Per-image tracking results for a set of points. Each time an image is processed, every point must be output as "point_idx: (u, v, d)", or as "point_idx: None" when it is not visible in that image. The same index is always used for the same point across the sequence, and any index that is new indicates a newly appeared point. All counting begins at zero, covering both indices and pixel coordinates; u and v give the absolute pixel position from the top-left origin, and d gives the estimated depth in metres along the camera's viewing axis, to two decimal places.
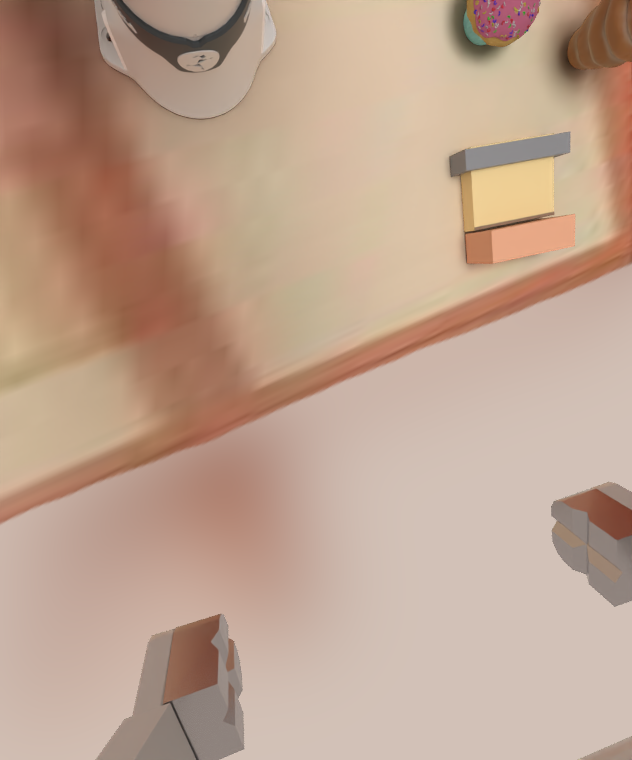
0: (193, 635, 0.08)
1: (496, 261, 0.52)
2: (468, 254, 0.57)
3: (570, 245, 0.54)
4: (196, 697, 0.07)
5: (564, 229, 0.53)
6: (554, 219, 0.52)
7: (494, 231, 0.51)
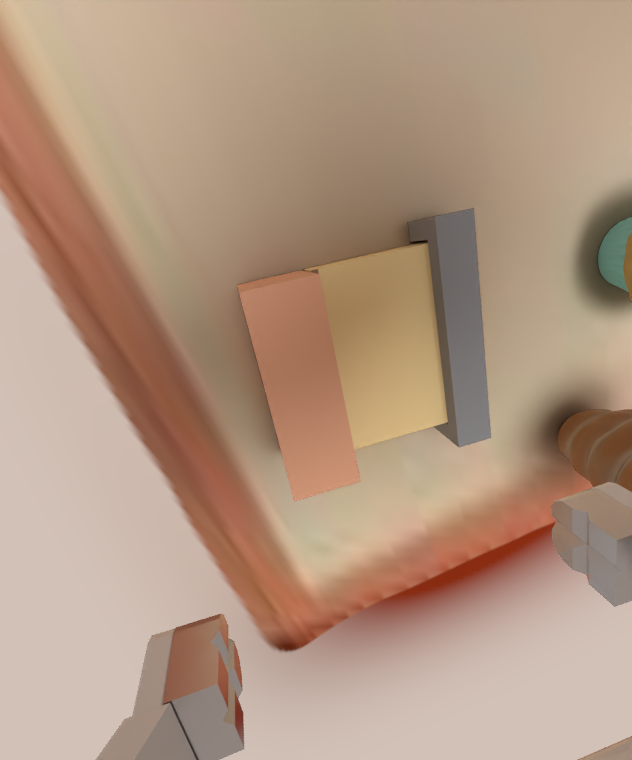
0: (193, 635, 0.08)
1: (244, 302, 0.20)
2: (256, 280, 0.25)
3: (295, 491, 0.23)
4: (196, 697, 0.07)
5: (329, 466, 0.23)
6: (348, 436, 0.23)
7: (318, 282, 0.20)
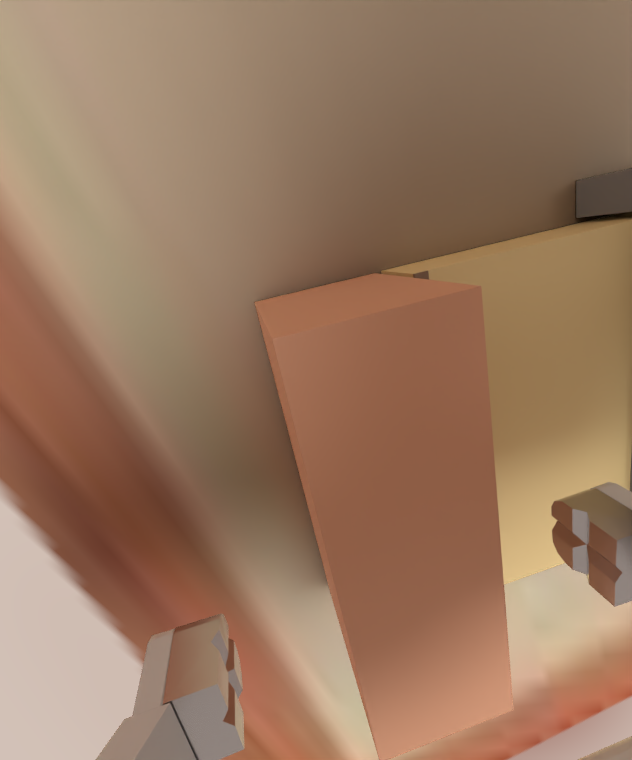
0: (193, 635, 0.08)
1: (287, 363, 0.07)
2: (294, 294, 0.12)
3: (382, 745, 0.11)
4: (196, 697, 0.07)
5: (455, 694, 0.11)
6: (501, 634, 0.10)
7: (476, 308, 0.08)
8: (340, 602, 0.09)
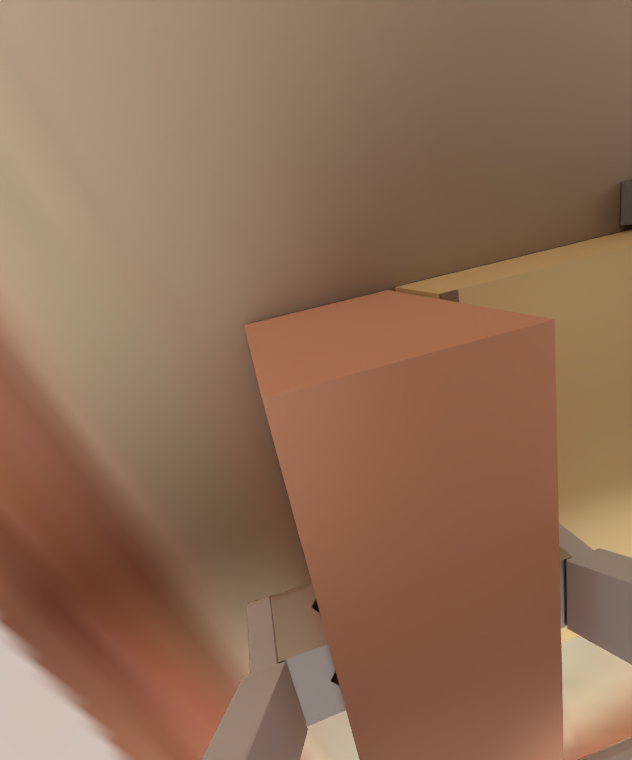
0: (291, 601, 0.08)
1: (284, 431, 0.05)
2: (292, 316, 0.10)
3: None
4: (308, 656, 0.07)
5: None
6: (556, 752, 0.08)
7: (546, 350, 0.06)
8: (354, 732, 0.07)
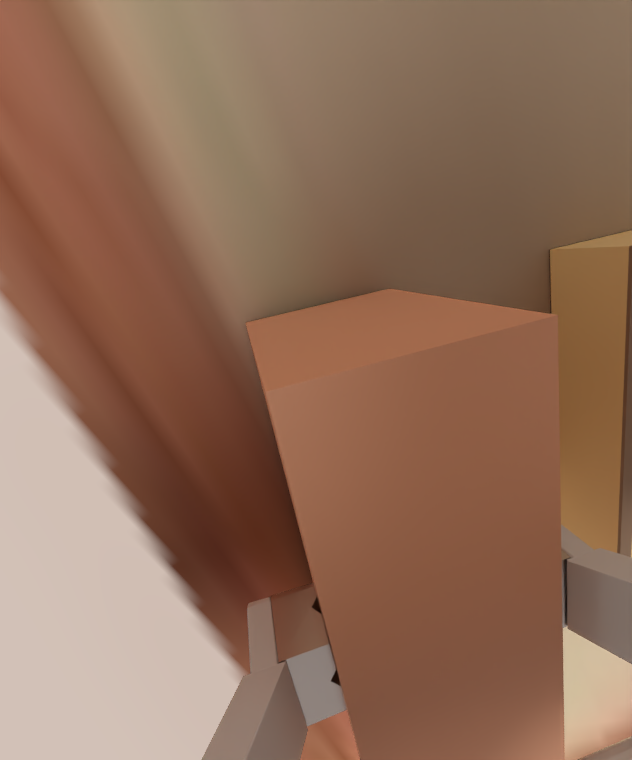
0: (292, 601, 0.08)
1: (287, 425, 0.05)
2: (293, 314, 0.10)
3: None
4: (308, 656, 0.07)
5: None
6: (557, 751, 0.08)
7: (549, 345, 0.06)
8: (354, 730, 0.07)
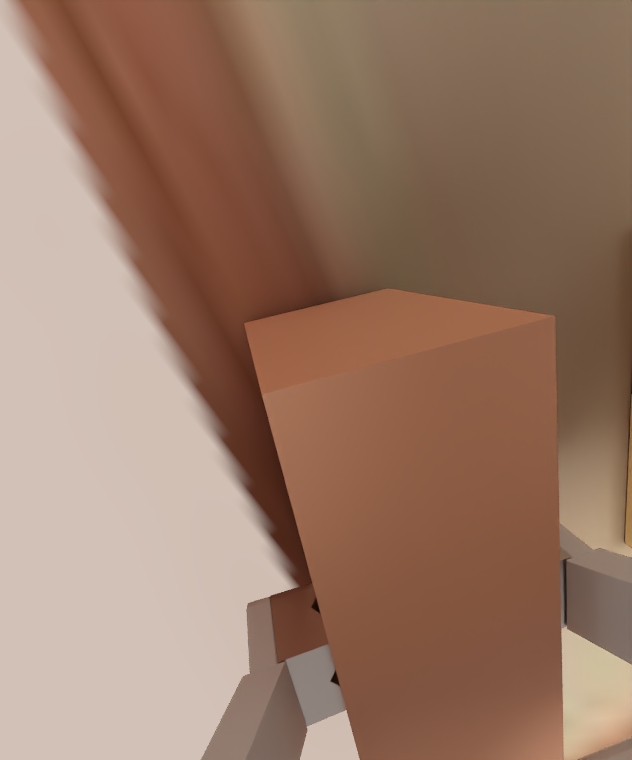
0: (291, 602, 0.08)
1: (284, 427, 0.05)
2: (292, 314, 0.10)
3: None
4: (308, 657, 0.07)
5: None
6: (556, 751, 0.08)
7: (546, 346, 0.06)
8: (353, 730, 0.07)
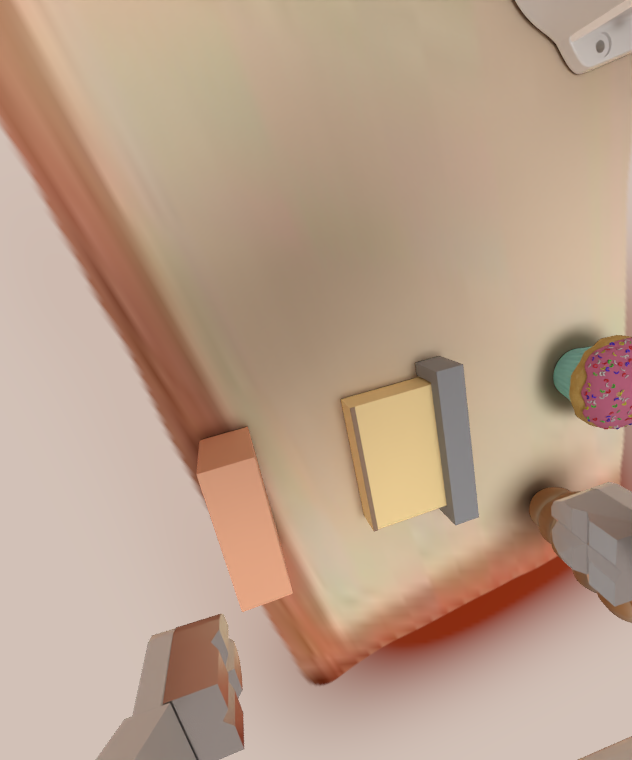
0: (193, 635, 0.08)
1: (200, 480, 0.27)
2: (214, 438, 0.33)
3: (242, 604, 0.31)
4: (196, 697, 0.07)
5: (268, 585, 0.31)
6: (282, 562, 0.30)
7: (254, 462, 0.28)
8: (221, 549, 0.29)
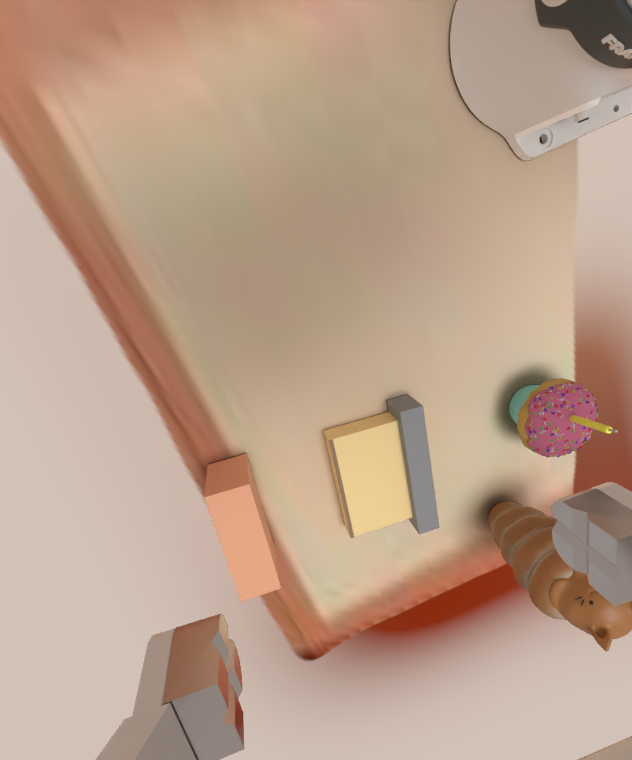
0: (193, 635, 0.08)
1: (207, 501, 0.35)
2: (219, 463, 0.40)
3: (241, 596, 0.39)
4: (196, 697, 0.07)
5: (261, 581, 0.39)
6: (272, 564, 0.38)
7: (249, 488, 0.36)
8: (224, 553, 0.37)
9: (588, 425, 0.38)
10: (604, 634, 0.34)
